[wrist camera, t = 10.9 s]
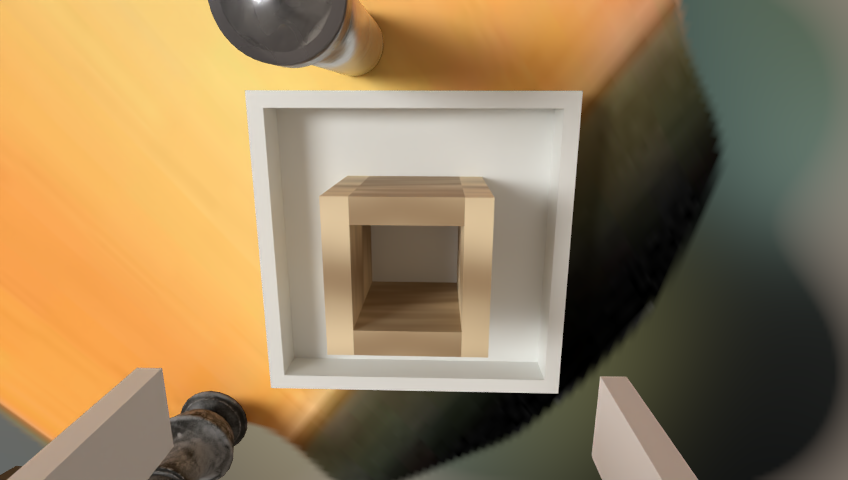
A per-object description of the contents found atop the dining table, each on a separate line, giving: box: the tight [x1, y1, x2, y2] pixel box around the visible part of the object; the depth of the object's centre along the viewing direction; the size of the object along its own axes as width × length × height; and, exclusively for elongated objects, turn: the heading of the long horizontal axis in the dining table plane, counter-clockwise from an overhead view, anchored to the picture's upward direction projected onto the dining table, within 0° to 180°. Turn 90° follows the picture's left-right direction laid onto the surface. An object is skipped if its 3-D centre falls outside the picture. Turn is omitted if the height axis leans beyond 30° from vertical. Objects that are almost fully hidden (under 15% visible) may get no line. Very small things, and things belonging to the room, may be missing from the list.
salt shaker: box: [148, 391, 247, 480], centre depth 33 cm, size 6×6×12 cm
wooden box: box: [319, 176, 495, 358], centre depth 30 cm, size 9×9×8 cm
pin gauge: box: [208, 0, 383, 76], centre depth 24 cm, size 5×5×15 cm
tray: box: [245, 90, 583, 393], centre depth 33 cm, size 20×20×3 cm
